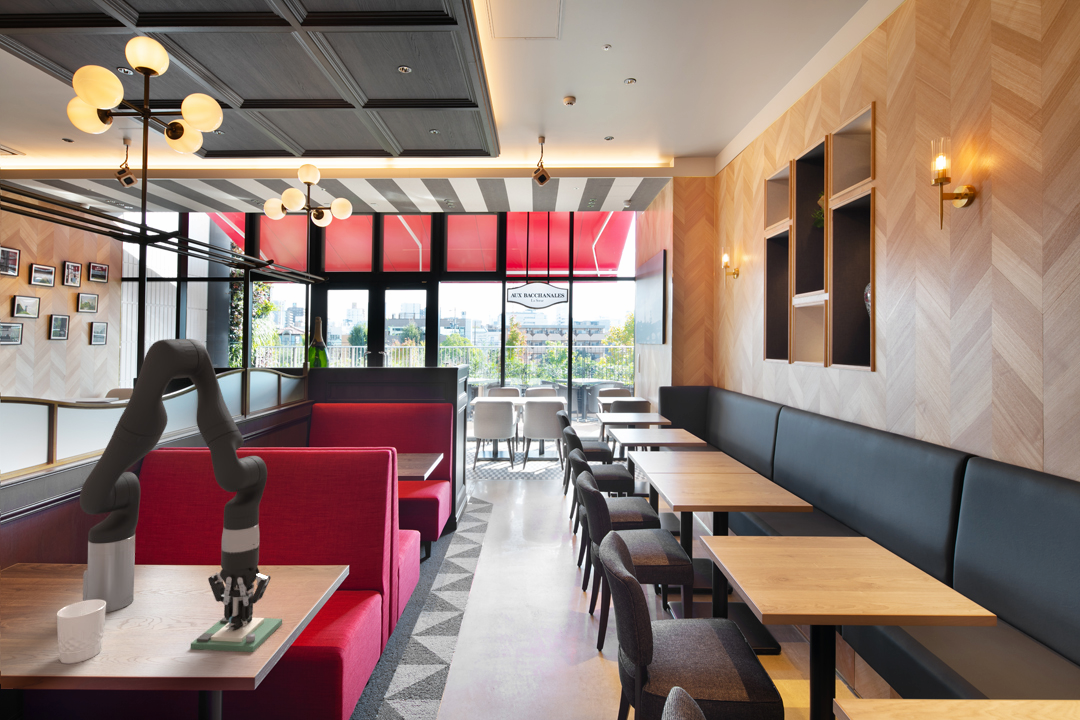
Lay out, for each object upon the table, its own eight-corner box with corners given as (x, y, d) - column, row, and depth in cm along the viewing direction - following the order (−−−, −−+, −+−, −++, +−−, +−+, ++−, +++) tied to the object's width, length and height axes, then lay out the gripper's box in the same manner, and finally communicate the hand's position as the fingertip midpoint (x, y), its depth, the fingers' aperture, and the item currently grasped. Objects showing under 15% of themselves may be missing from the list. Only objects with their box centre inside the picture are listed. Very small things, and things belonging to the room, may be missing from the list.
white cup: (75, 644, 115) (77, 599, 115) (114, 644, 115) (115, 599, 115) (45, 666, 107) (46, 617, 107) (86, 665, 107) (87, 617, 107)
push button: (236, 635, 116) (237, 590, 116) (216, 632, 117) (217, 587, 117) (258, 620, 123) (259, 578, 123) (239, 617, 124) (240, 575, 124)
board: (190, 648, 114) (190, 637, 114) (225, 621, 126) (225, 611, 126) (253, 651, 114) (253, 641, 114) (282, 623, 126) (282, 613, 126)
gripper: (199, 549, 116) (197, 626, 117) (261, 552, 116) (259, 629, 116) (221, 537, 124) (219, 610, 124) (279, 540, 124) (277, 612, 124)
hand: (238, 619), depth 120 cm, fingers closed on push button, 3 cm apart
